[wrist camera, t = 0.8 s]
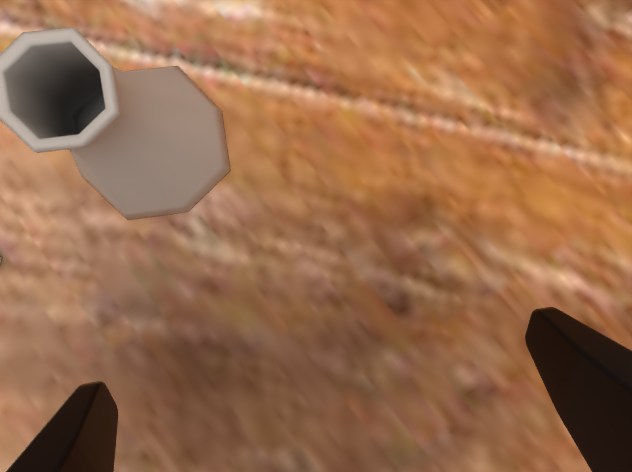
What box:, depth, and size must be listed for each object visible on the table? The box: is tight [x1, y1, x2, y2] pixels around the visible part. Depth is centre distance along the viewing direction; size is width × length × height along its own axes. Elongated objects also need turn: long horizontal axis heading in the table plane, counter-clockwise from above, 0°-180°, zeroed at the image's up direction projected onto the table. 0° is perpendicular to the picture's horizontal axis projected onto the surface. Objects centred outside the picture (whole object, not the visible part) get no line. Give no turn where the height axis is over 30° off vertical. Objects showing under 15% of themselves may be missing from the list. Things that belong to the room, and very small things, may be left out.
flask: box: [0, 28, 230, 220], centre depth 17 cm, size 7×7×10 cm
